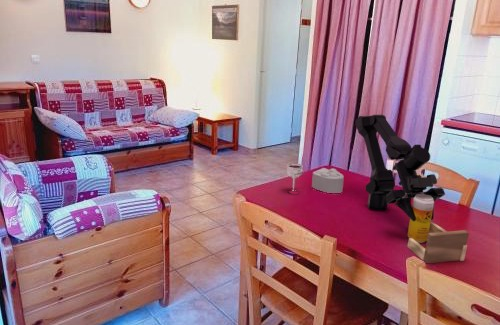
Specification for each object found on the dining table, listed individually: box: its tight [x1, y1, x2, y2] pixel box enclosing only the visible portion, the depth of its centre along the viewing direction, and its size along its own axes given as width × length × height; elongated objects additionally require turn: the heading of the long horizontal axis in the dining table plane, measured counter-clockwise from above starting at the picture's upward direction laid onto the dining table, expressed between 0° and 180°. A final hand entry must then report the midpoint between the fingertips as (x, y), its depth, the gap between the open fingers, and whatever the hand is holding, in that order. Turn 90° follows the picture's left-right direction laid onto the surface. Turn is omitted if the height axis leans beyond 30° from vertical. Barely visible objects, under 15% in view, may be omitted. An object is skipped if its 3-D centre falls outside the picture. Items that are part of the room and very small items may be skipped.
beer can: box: [407, 194, 435, 244], centre depth 124 cm, size 6×6×15 cm
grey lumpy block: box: [311, 167, 345, 194], centre depth 167 cm, size 10×13×9 cm
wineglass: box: [286, 162, 304, 191], centre depth 162 cm, size 7×7×12 cm
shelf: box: [407, 220, 470, 264], centre depth 121 cm, size 19×12×9 cm, turn 12°
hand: (423, 220), depth 123 cm, fingers closed on beer can, 6 cm apart
